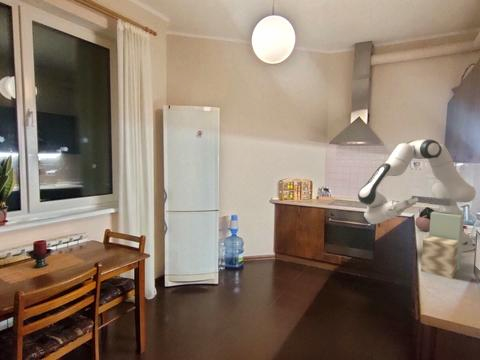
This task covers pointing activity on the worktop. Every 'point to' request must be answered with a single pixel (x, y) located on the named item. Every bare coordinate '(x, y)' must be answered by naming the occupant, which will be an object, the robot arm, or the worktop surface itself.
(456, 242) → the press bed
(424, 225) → the pink toy umbrella
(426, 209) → the squash
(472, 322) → the worktop surface
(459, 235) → the column
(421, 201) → the lever bar
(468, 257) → the worktop surface
